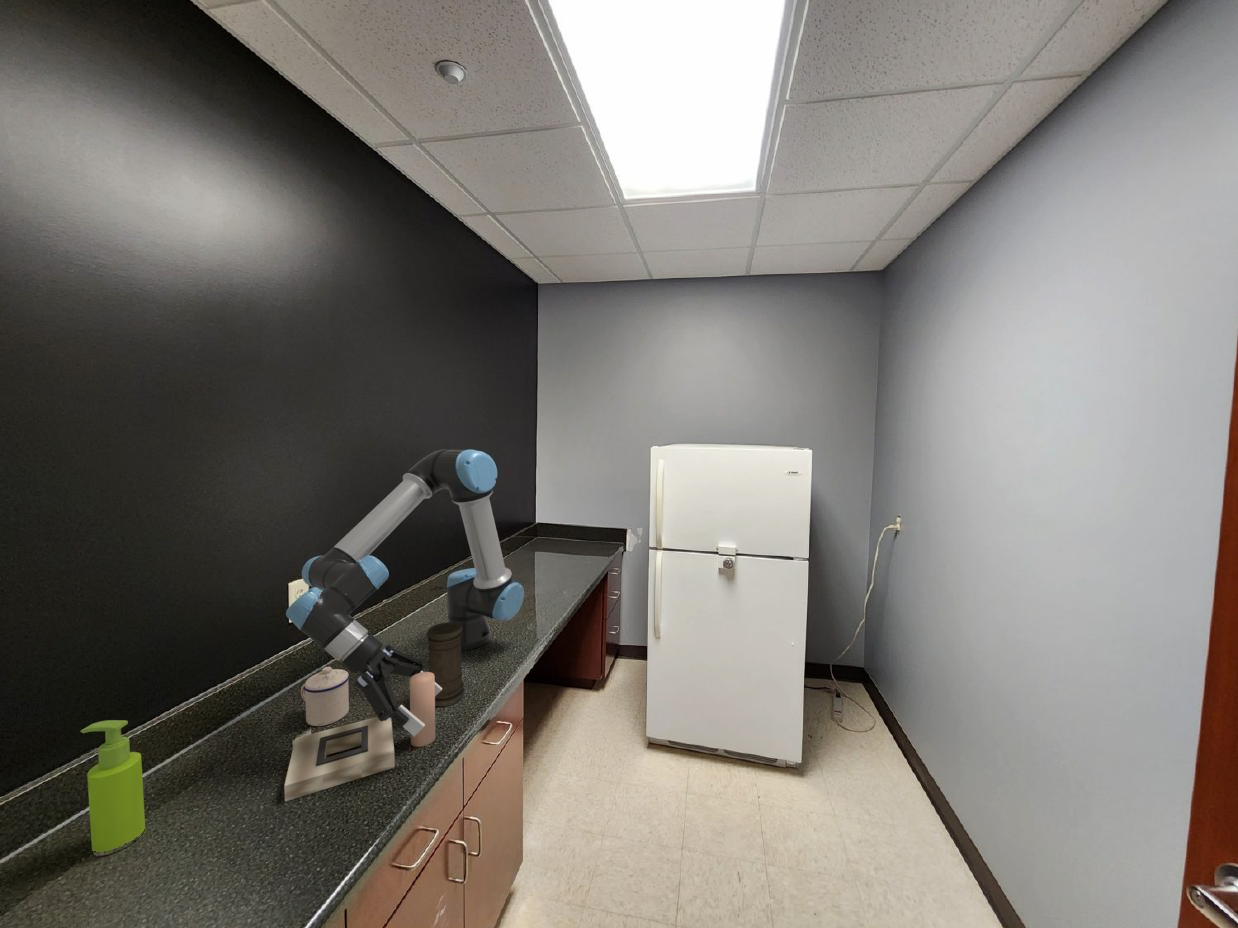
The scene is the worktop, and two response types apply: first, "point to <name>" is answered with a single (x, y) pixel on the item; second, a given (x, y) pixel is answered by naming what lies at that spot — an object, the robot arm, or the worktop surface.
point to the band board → (339, 756)
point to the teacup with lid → (326, 696)
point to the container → (446, 661)
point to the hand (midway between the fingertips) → (429, 710)
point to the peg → (423, 707)
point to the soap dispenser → (115, 790)
